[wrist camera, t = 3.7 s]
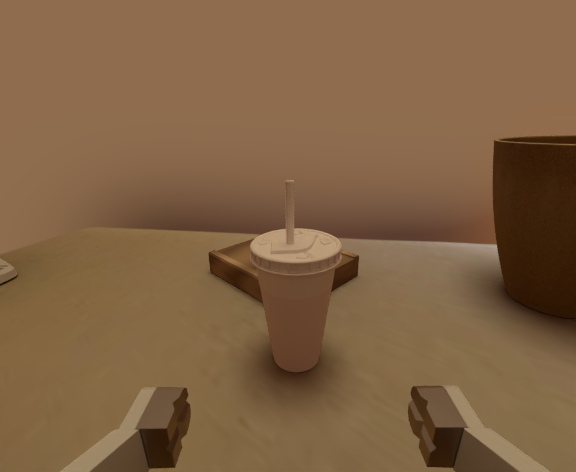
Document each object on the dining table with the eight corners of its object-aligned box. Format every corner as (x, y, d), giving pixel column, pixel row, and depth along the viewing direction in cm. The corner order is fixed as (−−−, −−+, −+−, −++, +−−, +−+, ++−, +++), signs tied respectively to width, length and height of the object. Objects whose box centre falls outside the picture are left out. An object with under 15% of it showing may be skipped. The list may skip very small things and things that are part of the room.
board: (210, 271, 38) (208, 252, 37) (279, 245, 46) (278, 229, 45) (287, 317, 29) (287, 292, 28) (357, 275, 37) (358, 255, 36)
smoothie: (239, 356, 24) (224, 181, 19) (293, 320, 28) (291, 170, 23) (300, 403, 20) (300, 194, 15) (352, 352, 24) (365, 178, 19)
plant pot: (492, 257, 41) (522, 133, 35) (660, 303, 30) (740, 135, 24) (440, 294, 32) (468, 138, 27) (649, 378, 21) (771, 143, 16)
